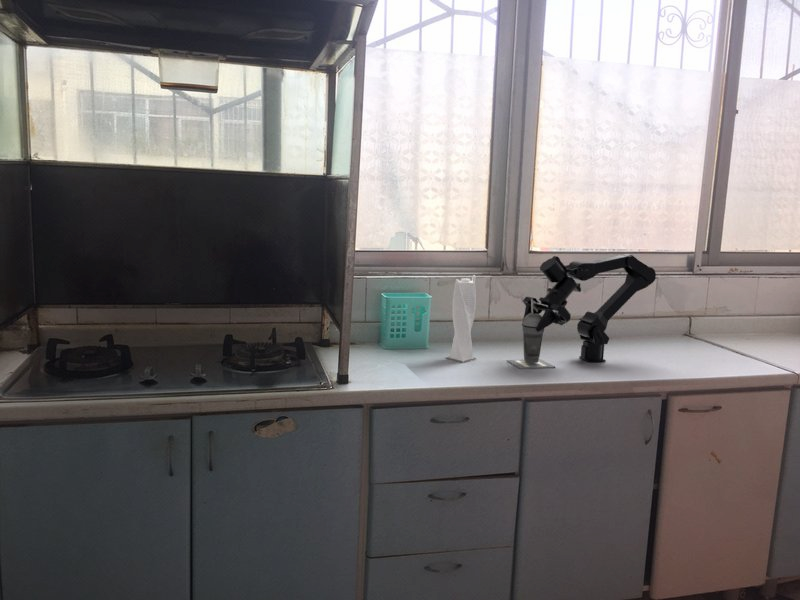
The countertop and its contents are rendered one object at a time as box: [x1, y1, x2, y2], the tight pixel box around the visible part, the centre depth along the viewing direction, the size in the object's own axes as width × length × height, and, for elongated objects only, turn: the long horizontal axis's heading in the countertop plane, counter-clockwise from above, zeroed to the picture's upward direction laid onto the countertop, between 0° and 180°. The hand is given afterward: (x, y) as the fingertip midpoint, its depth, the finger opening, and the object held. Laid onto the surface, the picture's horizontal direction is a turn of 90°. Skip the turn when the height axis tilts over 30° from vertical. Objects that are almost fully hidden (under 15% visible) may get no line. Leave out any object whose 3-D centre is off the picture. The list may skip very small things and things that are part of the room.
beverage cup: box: [521, 299, 545, 363], centre depth 218 cm, size 7×7×20 cm
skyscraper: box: [445, 274, 477, 363], centre depth 221 cm, size 8×8×28 cm
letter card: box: [506, 358, 556, 370], centre depth 220 cm, size 12×10×1 cm
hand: (529, 328), depth 217 cm, fingers closed on beverage cup, 7 cm apart
